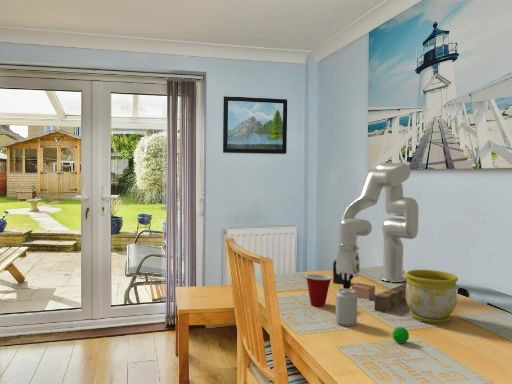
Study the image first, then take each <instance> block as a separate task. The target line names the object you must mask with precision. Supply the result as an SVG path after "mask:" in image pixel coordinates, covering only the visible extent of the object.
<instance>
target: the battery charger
mask: <svg viewBox="0 0 512 384" xmlns="http://www.w3.org/2000/svg"><path fill="white" fill-rule="evenodd" d="M336 259H337V258H335V259H334V260H333V262H332V283H333V284H335V283H336V284H343V279H342V277H341V275H339V274H337V273H336V272H337V270H336Z"/></svg>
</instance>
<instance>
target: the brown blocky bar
mask: <svg viewBox="0 0 512 384" xmlns="http://www.w3.org/2000/svg"><path fill="white" fill-rule="evenodd" d="M406 285H407V282H404V283H403V284H401V285H399V286H395V287H392V288H391V289H388V290H385V291H383V292H380V293H377V294H375V297H374V311H375V310H376V311H375V312H379V311H380V312H379V313H383V312H385V313H387V312H388V311H387V310H389V311H391V310H393V309H395V308H397V307H399V306H398V305H400V304H402V305H404V304H405V303H406V304H407V301H406ZM403 303H404V304H403ZM396 306H397V307H396ZM400 306H401V305H400ZM394 307H395V308H394ZM392 308H393V309H392ZM390 309H391V310H390ZM386 311H387V312H386Z"/></svg>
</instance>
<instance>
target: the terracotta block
mask: <svg viewBox="0 0 512 384" xmlns="http://www.w3.org/2000/svg"><path fill="white" fill-rule="evenodd" d="M351 289H352V290H355V291H356V292H355V293H356V295H357V297H358V298H357V299H361V298H364V299H363V300H366V299H370V300H371V298H372V299H374V298H375V295H376V286H374V285H370V284H365V283H360V282H358V283H355V284H353V285H352V284H351ZM373 297H374V298H373Z"/></svg>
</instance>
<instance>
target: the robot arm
mask: <svg viewBox="0 0 512 384" xmlns="http://www.w3.org/2000/svg"><path fill="white" fill-rule="evenodd" d="M410 175H411V168H410V165H409V164H407V163H405V162H383V163H381V162H380V163H378V164H376V166H375V168H374V169H372V170H370V171H368V173H367V174H366V177H365V180H364V183H363V186H362V189H361V191H360V194H359V196H358V197H357V198H356V199H354V201H352V203H350V204H349V205H348V206H347V208H346V209H345V211H344V213H343V215H342V218H341V221H340V222H339V241H338V242H339V245H338V248H339V249H338V251H337V254H336V258H335V259H336V270H337V272H336V273H337V274H339V275H341V277H342V279H343V283H342V286H343V288H342V289H351V288H352V280H353V278H359V273H360V272H361V269H360V268H361V265H360V255H359V251H358V250H359V246H358V245H357V240H358V239H357V238H358V237H366V236H369V235H370V234H371V233H372V230H373V225H372V224H371V222H370V221H369V220H367V219H362V218H356V216H357V215H358V214H359V213H360V212H361V211H363V210H365V209H368V208H370V207H373V206H375V205H376V204H378V200H379V198H380V195H381V193H382V189H384V192H385V195H384V199H385V203H384V205H385V211H386V214H387V215H390V216H395V217H388V218H386V219H384V220H383V222H382V225H381V227H382V228H381V230H382V235H383V260H382V261H383V262H382V263H383V265H382V274H381V275H380V276H379V280H380V279H381V280H380V281H382V280H384V281H383V282H385V281H390V282H389V283H392V282H402V283H404V282H403V281H405V280H406V281H407V279H406V277H403V275H404V274H406V271H405V269H403V268H404V243H403V241H402V239H406V240H407V239H408V240H413V239H415V238H416V237H417V236H418V233H419V205H418V201H417V200H416V199H415V198H413V197H405V196H404V186H403V184H402V183H405V182H406V181H407V180H408V179H409V177H410ZM397 217H398V218H397ZM399 217H404V218H399ZM406 281H405V282H406Z"/></svg>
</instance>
